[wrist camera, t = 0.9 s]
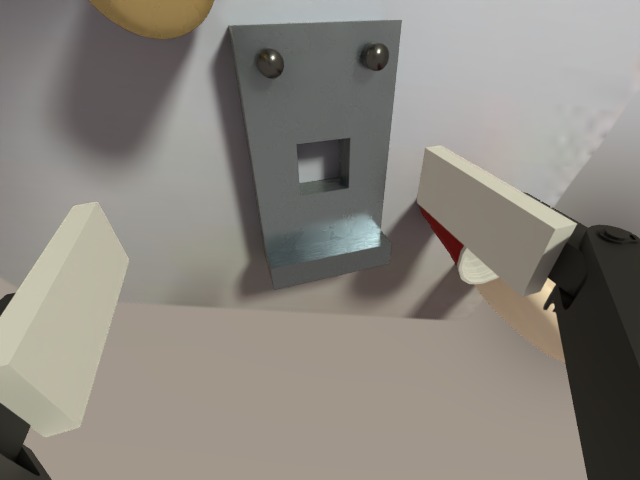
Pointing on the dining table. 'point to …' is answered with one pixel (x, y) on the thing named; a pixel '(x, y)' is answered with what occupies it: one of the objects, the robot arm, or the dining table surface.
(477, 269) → the plastic cup
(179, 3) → the golden knob
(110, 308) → the robot arm
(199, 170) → the dining table surface
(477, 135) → the dining table surface
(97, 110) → the dining table surface
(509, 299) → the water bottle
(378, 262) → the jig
